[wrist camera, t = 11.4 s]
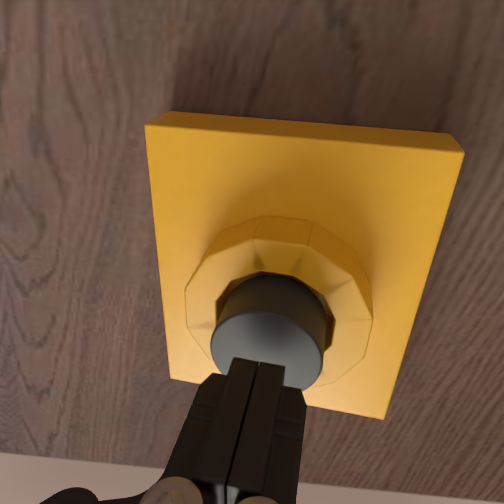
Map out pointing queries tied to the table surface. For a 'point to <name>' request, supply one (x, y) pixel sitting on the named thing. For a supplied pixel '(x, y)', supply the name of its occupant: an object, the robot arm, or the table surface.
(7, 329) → the table surface
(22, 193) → the table surface
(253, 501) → the robot arm
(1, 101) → the table surface
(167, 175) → the housing
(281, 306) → the dark grey push button
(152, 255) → the table surface
